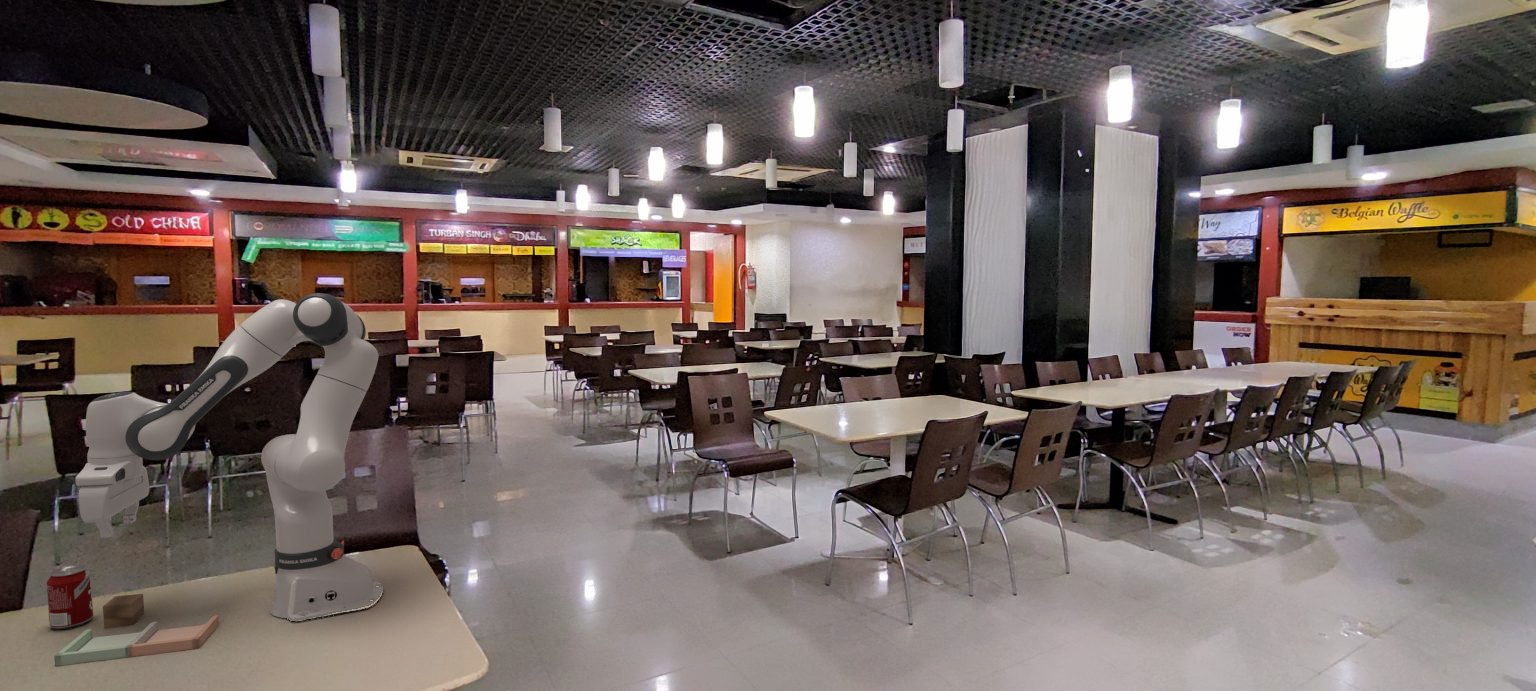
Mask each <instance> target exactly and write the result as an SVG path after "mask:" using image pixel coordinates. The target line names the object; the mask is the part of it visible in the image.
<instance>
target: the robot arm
mask: <svg viewBox="0 0 1536 691" xmlns="http://www.w3.org/2000/svg"><path fill="white" fill-rule="evenodd" d="M366 333H367V331H366V326H365V322H364V320H363V319H362V317H361V316H359V315H358V314H357V313H355V311H354V310H353V309H352V308H351V307H350V306H349V305H348V304H346V303H345V302H344V301H342V300H340V299H339V298H338V297H336V296H334V295H331V294H328V293H323V292H322V293H321V292H315V293H311V294H310V293H309V294H307V295H305V296H303V297H302V298H300V299H299V300H298V301H297V302H293V301H292V300H288V299H281V298H280V299H276V300H273V301H271V302H269V303H267V304H265V306H263V307H261V308H260V309H258V310H257V311H256V312H254V313H253V314H251V315H250V316H249V317H247V318H246V319H245V320H244V321H243V322H241V323H240V325H238V326H236V328H235V329H234V330H233V331H232V332H231V333H230V334H229V335H228V336H227V337H226V339H225V340H224V341H223V342H222V343H221V345H220V346H219V347H218V349H217V350H216V352H215V354H214V355H213V356H212V359H211V360H210V362H209V364H208V365H207V367H206V368H205V369H204V370H203V371H202V373H201V374H200V375H199V376H198V377H197V378H196V379H195V380H194V381H192V383H190V384H189V385H188V386H187V387H186V388H185V389H184V390H183V391H182V392H180V393H179V394H178V395H177V396H175V398H174V399H172V400H171V401H170V402H169V403H165V402H160V401H155V400H153V399H149V398H146V397H144V396H141V395H139V394H137V393H136V392H134V391H118V392H112V393H107V394H105V395H101V396H98V397H96V398H94V399H93V400H92V401H90V403H89V404H88V406H87V408H86V416H85V436H86V440H87V442H88V445H89V446H88V447H89V448H88V452H87V456H86V458H87V463H85V465H84V467H83V468H82V469H81V471H80V472H79V473H78V474H77V475H76V476H75V486H78V487H80V488H79V490H78V506H79V507H78V508H79V515H80V518H81V520H82V521H83V522H84V523H87V524H88V523H95V526H96V527H97V529H98V530H99V537H100V538H101V539H106V538H107V539H108V538H110V537H112V536H114V534H115V531H114V530H115V527H114V526H112V524H111V522H112V517H114V516H115V515H117V514H118V513H120V512H122V511H124V510H125V512H124V515H123V516H122V517H123V518H122V520H123V523H124V524H133V523H135V522H136V521H137V514H138V509H139V506H140V501H141V500H143V499H145V498H146V497H148V496H149V493H150V483H149V475H148V470H147V468H146V467H145V466H144V465H143V464H144V461H143V459H144V460H149V461H161V460H166V459H169V458H172V457H173V456H175V455H178V454H179V453H180V452H181V451H182V449H183V448H184V447H185V445H186V443H187V441H188V440H189V439H190V438H191V436H192V435H193V433H194V432H195V429H196V426H197V423H198V422H199V421H200V420H201V419H202V418H203V417H204V416H205V415H206V414H207V413H209V411H210V410H212V408H214V407H215V406H216V405H217V404H218V403H219V402H220V401H221V400H222V399H224V398H225V397H226V396H227V395H228V394H229V393H231V392H233V391H234V390H235V389H237V388H239V387H241V386H242V385H243V384H246V383H247V382H248V381H251V380H252V379H254V378H255V377H258V376H259V375H261V374H263V373H264V372H265V371H267V370H269V369H270V368H271V367H273V365H275V364H276V363H277V362H279V361H281V359H282V358H283V357H284V356H285V355H286V354H287V353H288V352H289V351H290V350H292V349H293V347H296V345H298V344H300V343H302V342H307V341H309V342H310V343H311V344H313V345H315V346H318V347H321V348H323V349H324V359H323V362H322V364H321V365H320V367H319V368H318V371H317V373H316V375H315V377H314V379H313V380H312V383H311V385H310V387H309V388H308V390H307V393H306V394H305V396H304V398H303V400H302V402H301V404H300V408H299V409H300V416H299V422H298V426H297V427H298V428H297V431H296V433H292V434H284V435H280V436H276V437H274V438H272V439H271V440H270V441H268V442H267V443H266V444H265V445H264V447H263V449H262V452H261V456H260V460H261V464H262V467H263V469H264V472H265V477H266V482H267V487H268V491H269V496H270V500H271V504H272V508H273V509H272V510H273V514H274V523H275V525H274V526H275V541H276V542H275V543H276V548H275V549H274V553H273V567H274V574H276V575H275V577H276V579H275V589H274V594H273V599H272V603H271V606H270V609H269V610H270V611H269V612H270V614H271V615H272V616H274V617H277V618H281V619H282V618H283V619H286V618H287V619H286V620H288V619H289V620H290V621H289V620H288V621H289V622H291V621H299V620H304V619H310V618H313V617H319V616H324V615H328V614H332V613H336V612H342V611H347V610H352V609H358V608H361V607H365V606H369V605H371V604H372V603H374V602H375V601H376V600H377V599H378V598H379V597H380V595H381V593H382V591H383V592H384V586H383V584H382V583H381V582H378V581H373V578H372V573H371V570H370V569H369V567H368V566H367V565H366V564H363V563H362V562H359V561H358V560H355V559H354V558H351V557H349V556H348V555H346V554H345V541H344V540H342V541H341V542H339V541H338V540H336V539H335V538H334V519H333V518H334V517H333V506H332V504H331V502H330V500H329V497H328V494H327V491H329V490H330V489H332V488H334V487H336V485H338V484H339V483H340V481H341V480H342V479H343V477H344V475H345V471H346V462H345V453H346V448H347V443H348V439H349V436H350V431H351V429H352V425H353V421H354V420H355V418H356V415H357V412H358V411H359V408H360V407H361V404H362V402H363V400H364V398H365V396H366V394H367V392H368V390H369V388H370V385H371V383H372V380H373V378H374V375H375V373H376V369H377V364H378V361H379V357H380V356H379V352H378V350H377V348H376V347H375V346H374V345H373V344H372V343H370V342H369V341H367V340H365V338H366V335H367V334H366ZM381 585H382V586H381ZM376 586H379V587H376ZM370 600H373V601H370Z"/></svg>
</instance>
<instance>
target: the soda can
mask: <svg viewBox="0 0 1536 691" xmlns="http://www.w3.org/2000/svg"><path fill="white" fill-rule="evenodd" d="M49 575H50V576H49V578H48V579H47V581H46V591H47V592H46V593H47V605H48V606H47V607H48V621H49V627H51V628H52V629H58V630H67V629H73V628H76V627H79V626H82V625H84V624H86V623H87V622H88V621H90V620H91V619H93V617H94V607H93V593H92V591H93V590H92V575H91V573H90V571H89V570H88V569H87V567H86V565H83V564H73V565H68V566H67V565H66V566H62V567H59V568H56V569H53V570H52V571H51V572H50V574H49Z"/></svg>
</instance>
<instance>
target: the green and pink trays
mask: <svg viewBox="0 0 1536 691" xmlns="http://www.w3.org/2000/svg"><path fill="white" fill-rule="evenodd" d="M219 625H220V614H215V615H212V617H210V619H209V620H208V621H207V622H206V624H201V625H200V624H199V625H193V626H192V625H191V626H183V627H174V628H166V629H165V628H164V629H158V621H152V622H150V623H149V624H148V625H147V626H146V627H145V628H144V629H143V630H142V631H139V632H138V631H137V632H132V633H131V632H130V633H123V634H115V635H108V636H106V635H105V636H104V635H103V636H97V637H94V636H93V629H92V628H89V629H88V628H87V629H85V630H84V631H83V632H81V633H80V634H79V635H78V636H77V637H75V638H74V639H73V640H72V641H70V642H69V643H68V644H67V645H66V646H65V647H63V648H62V649H61V650H60V651H58V652H57V653H56V654H55V655H54V656H53V657H54V658H53V659H54V666H55V667H58V666H65V665H75V664H81V663H90V662H97V661H106V660H107V661H109V660H115V659H123V658H124V659H125V658H130V657H131V658H132V657H139V656H148V655H154V654H164V653H172V652H180V651H186V650H187V651H188V650H195V649H200V647H201V646H202V645H203V644H204V643H205V642H206V640H207V639H208V637H210V635H211V634H212V633H213V632H214V631H215V629H216V628H217V627H218V626H219Z"/></svg>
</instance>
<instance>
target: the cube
mask: <svg viewBox="0 0 1536 691" xmlns="http://www.w3.org/2000/svg"><path fill="white" fill-rule="evenodd" d="M102 613H103V614H102V615H103V616H102V617H103V628H104V629H112V628H113V629H114V628H120V627H121V628H122V627H129V626H130V627H131V626H134V625H135V624H136V623H137V622H138V621H140V619H142V618H143V617H144V616H145V602H144V593H136V594H127V595H126V594H125V595H117V596H114V597H113V598H111V599H110V600H109V601H108V602H106V603H105V604H104V605H102Z"/></svg>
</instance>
